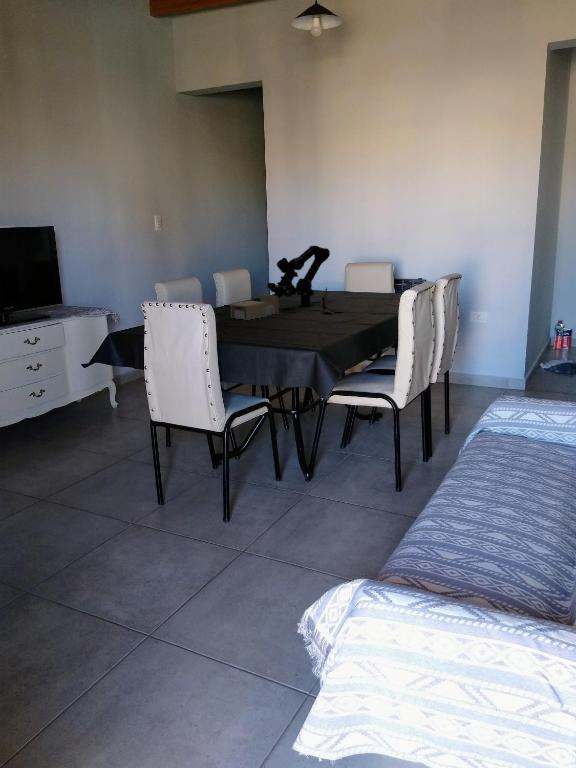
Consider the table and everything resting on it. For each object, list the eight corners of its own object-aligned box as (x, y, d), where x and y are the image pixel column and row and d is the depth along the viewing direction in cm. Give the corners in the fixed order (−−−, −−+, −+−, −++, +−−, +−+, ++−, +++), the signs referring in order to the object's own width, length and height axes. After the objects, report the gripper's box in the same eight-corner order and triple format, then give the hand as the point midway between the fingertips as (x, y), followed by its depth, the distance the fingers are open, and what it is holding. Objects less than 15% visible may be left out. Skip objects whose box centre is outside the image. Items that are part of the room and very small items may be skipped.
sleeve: (249, 314, 348) (248, 300, 345) (265, 316, 339) (265, 302, 337) (231, 318, 338) (230, 304, 335) (247, 321, 329) (246, 306, 327)
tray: (262, 312, 355) (261, 294, 352) (278, 314, 346) (278, 296, 343) (231, 318, 338) (230, 300, 335) (248, 320, 330) (247, 301, 327)
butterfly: (309, 293, 342) (325, 284, 338) (315, 294, 351) (330, 285, 347) (324, 321, 340) (340, 312, 337) (330, 321, 350) (345, 312, 346)
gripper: (306, 288, 356) (294, 310, 351) (282, 286, 368) (270, 307, 363) (297, 275, 348) (284, 298, 343) (273, 274, 360) (260, 295, 355)
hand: (275, 300), depth 351 cm, fingers closed
